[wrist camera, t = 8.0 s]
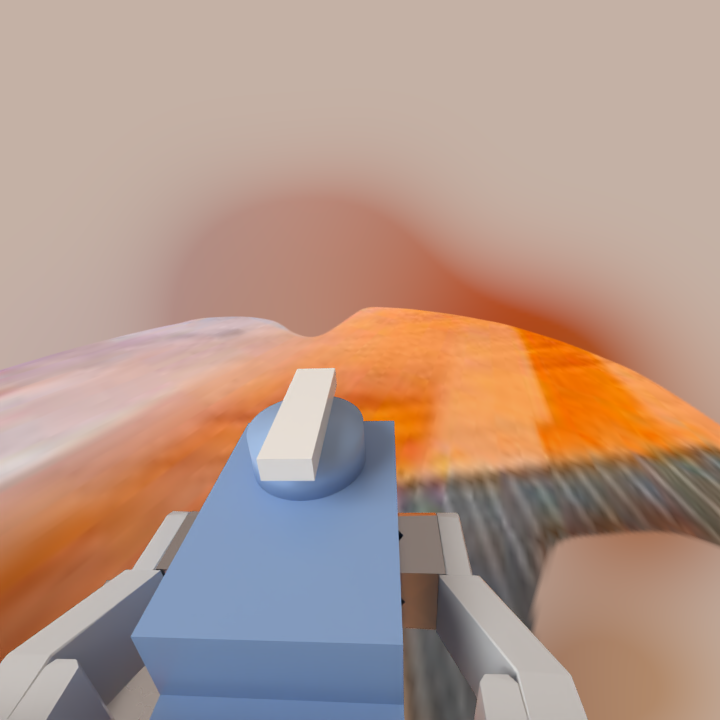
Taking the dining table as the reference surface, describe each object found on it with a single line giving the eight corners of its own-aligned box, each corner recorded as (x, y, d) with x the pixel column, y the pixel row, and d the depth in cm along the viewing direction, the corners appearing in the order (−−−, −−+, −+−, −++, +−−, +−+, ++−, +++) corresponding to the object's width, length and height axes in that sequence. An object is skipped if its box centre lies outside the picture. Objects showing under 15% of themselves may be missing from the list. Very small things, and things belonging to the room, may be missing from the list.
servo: (203, 945, 8) (-6, 705, 4) (294, 561, 15) (255, 352, 11) (408, 964, 7) (409, 722, 3) (396, 562, 15) (391, 348, 11)
